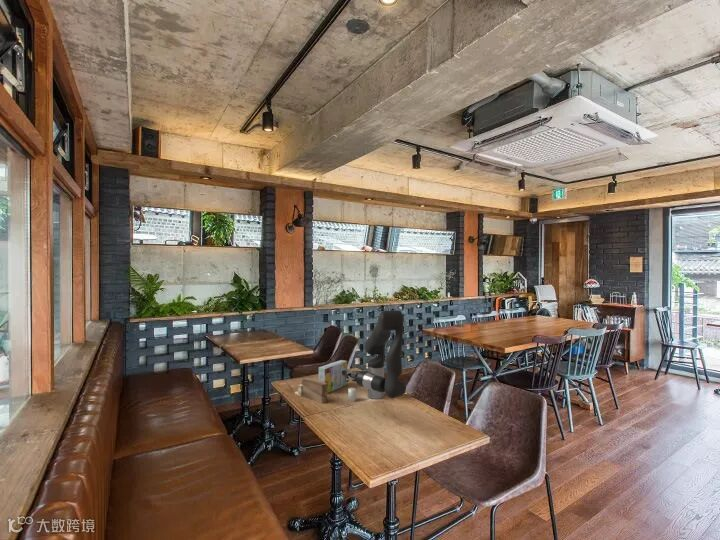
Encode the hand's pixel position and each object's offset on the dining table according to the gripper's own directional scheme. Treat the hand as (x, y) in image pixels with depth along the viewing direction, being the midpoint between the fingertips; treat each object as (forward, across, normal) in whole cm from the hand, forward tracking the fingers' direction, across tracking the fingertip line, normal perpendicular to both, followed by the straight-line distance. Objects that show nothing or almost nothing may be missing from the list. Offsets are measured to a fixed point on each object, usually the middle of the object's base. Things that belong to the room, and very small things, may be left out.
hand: (342, 372), depth 196 cm
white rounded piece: (+4, -12, +20) cm, 23 cm away
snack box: (+25, -18, +21) cm, 37 cm away
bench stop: (+32, -2, +20) cm, 38 cm away
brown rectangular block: (+21, +1, +20) cm, 29 cm away
